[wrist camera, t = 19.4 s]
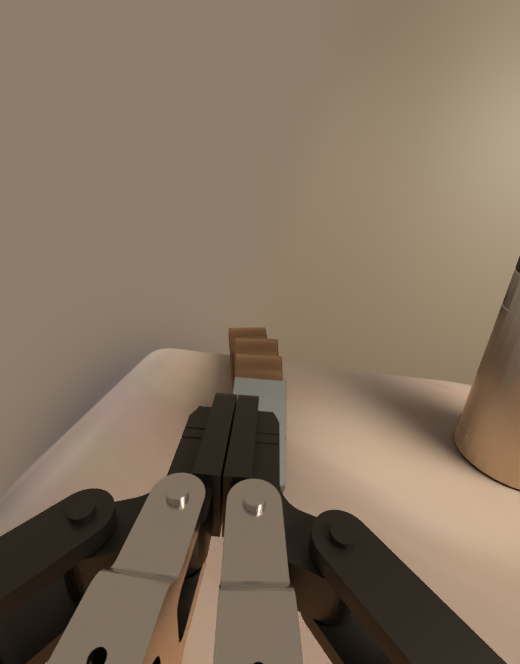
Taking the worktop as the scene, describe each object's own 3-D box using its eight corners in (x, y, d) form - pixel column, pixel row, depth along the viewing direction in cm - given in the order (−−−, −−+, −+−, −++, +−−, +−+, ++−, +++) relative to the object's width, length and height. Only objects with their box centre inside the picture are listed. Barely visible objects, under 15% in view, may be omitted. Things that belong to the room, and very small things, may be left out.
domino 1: (276, 381, 39) (265, 327, 47) (233, 382, 38) (228, 328, 46) (274, 390, 40) (264, 336, 48) (232, 391, 39) (228, 337, 47)
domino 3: (285, 439, 30) (281, 356, 37) (230, 436, 30) (236, 353, 37) (283, 448, 31) (279, 365, 39) (229, 445, 31) (235, 363, 38)
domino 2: (280, 409, 34) (276, 339, 42) (231, 408, 34) (235, 338, 41) (279, 418, 35) (274, 348, 43) (231, 416, 35) (235, 347, 42)
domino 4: (284, 485, 25) (286, 381, 33) (219, 479, 26) (235, 376, 33) (282, 493, 27) (284, 391, 34) (220, 488, 27) (235, 387, 34)
